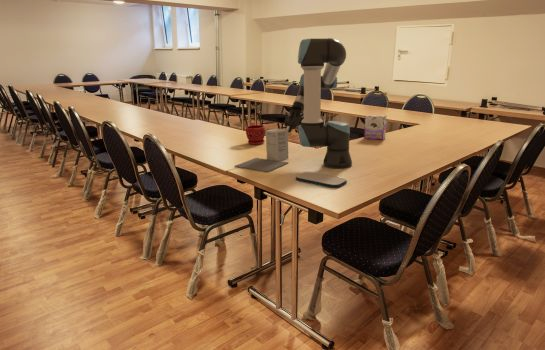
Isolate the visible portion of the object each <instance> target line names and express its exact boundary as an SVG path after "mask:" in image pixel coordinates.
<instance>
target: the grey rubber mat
mask: <svg viewBox="0 0 545 350" xmlns="http://www.w3.org/2000/svg"><path fill="white" fill-rule="evenodd" d="M288 164H289V162H288V161H283V160H281V161H275V160H269V159H267V158H259V157H254V158H252V159H249V160H247V161H244V162H241V163H238V164H236V165H234V168H240V169H246V170H252V171H256V172H262V171H263V173H270V172H272V171H275V170H277V169H280V168H281V167H284V166H286V165H288Z"/></svg>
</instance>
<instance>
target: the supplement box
mask: <svg viewBox="0 0 545 350" xmlns="http://www.w3.org/2000/svg"><path fill="white" fill-rule="evenodd" d="M265 144H266V147H265V148H266V149H265V150H266V159H268V160H275V161H283V160H288V159H289V135H288V130H285V129H284V128H273V129H268V130H265Z"/></svg>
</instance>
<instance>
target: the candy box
mask: <svg viewBox="0 0 545 350" xmlns="http://www.w3.org/2000/svg"><path fill="white" fill-rule="evenodd" d="M386 130H387V115H381V114H367V115H365V116H364V131H363V132H364V133H363V136H364V137H363V139H365V140H367V139H368V140H379V141H384V140H385V139H386V133H387V132H386Z"/></svg>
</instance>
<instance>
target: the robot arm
mask: <svg viewBox="0 0 545 350" xmlns="http://www.w3.org/2000/svg"><path fill="white" fill-rule="evenodd" d="M346 59H347V50H346V48H345V46H344V45H343V44H342V43H341V41H339V40H338V39H335V38H332V37H330V38H329V37H328V38H304V39H302V40H301V41H300V43H299V48H298V55H297V63H298V64H299V65H300V69H302V70H303V73H302V74H301V75H300V80H299V87H298V92H297V95H296V97H295V99H294V101H293V104H292V105H291V109H290V110H289V111H288V112H287V111H286V112H285V113H284V114H285V117H284V124H283V125H284V127H285V129H284V130H288V136H289V135H290V133H292V130H293V129H296V128H298V137H299V141H300V145H301V146H302V147H304V148H311V147H313V148H315V147H316V148H317V147H326V152H325V156H324V159H323V161H322V162H323V166H325V167H326V168H330V169H347V168H350V167H351V166H352V165H353V161H352V157H351V153H350V135H351V129H350V125H349V123H347V122H344V121H343V122H342V121H338V120H337V121H336V120H328V121H327V123H325V124H324V120H323V119H322V118H321V114H322V113H321V98H322V97H321V96H322V95H321V92H322V91H321V90H331V89H336V88H337V87H338V77H337V75H338V73H339V70H340V68H341V66H342V65H343V64H344V62H345V61H346ZM323 68H324V69H323ZM322 70H323V74H322ZM352 167H353V166H352Z"/></svg>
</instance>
